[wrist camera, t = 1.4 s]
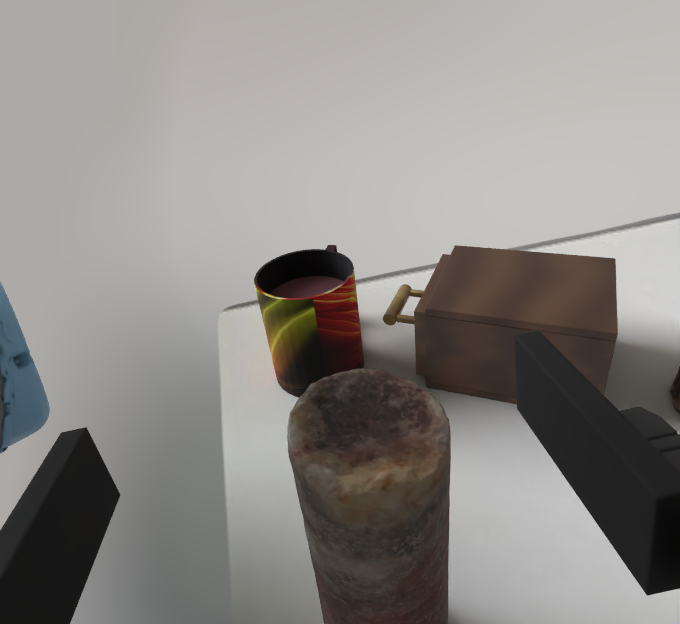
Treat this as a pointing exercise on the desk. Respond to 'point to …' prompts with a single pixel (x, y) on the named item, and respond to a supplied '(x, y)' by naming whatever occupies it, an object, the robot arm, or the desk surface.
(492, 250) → the dresser
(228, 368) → the desk surface
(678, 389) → the sculpture
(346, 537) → the candle
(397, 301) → the dresser drawer
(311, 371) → the mug
